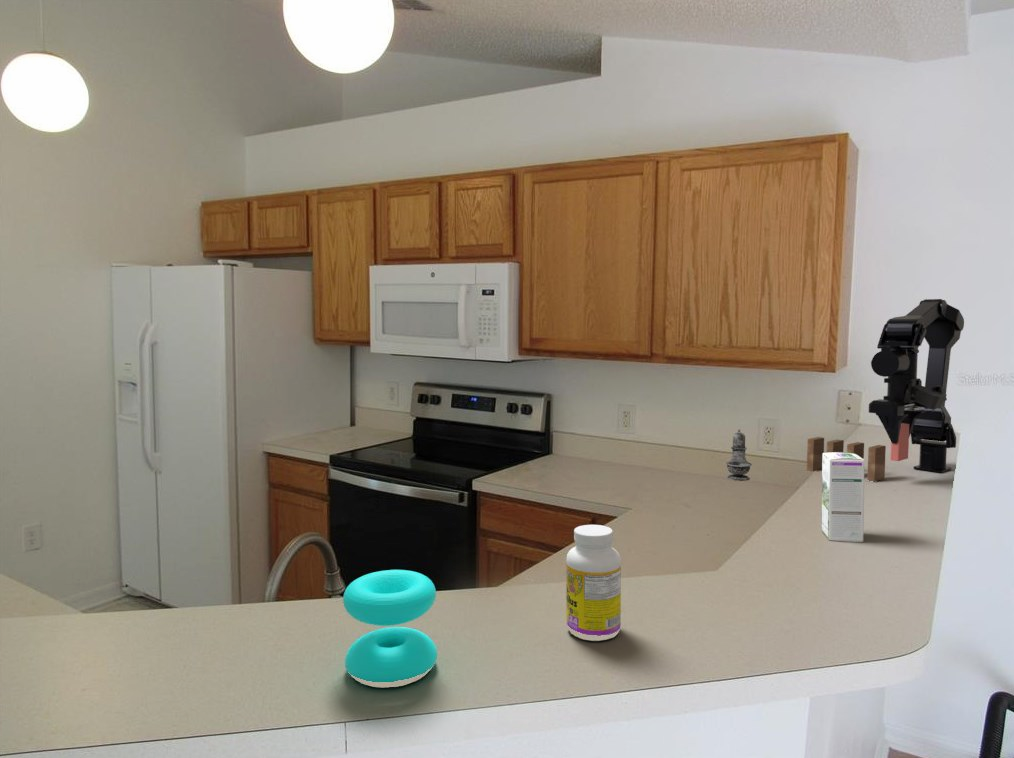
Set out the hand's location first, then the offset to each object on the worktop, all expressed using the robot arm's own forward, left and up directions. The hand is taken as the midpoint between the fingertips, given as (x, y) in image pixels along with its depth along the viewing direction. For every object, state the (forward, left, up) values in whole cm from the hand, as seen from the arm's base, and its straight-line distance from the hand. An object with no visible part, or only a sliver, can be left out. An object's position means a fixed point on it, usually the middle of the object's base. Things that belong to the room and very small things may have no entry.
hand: (899, 442), depth 159 cm
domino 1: (0, -20, -10) cm, 22 cm away
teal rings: (+132, +5, -10) cm, 133 cm away
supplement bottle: (+108, +12, -10) cm, 109 cm away
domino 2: (0, -15, -10) cm, 18 cm away
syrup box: (+48, +12, -10) cm, 50 cm away
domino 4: (0, -5, -10) cm, 11 cm away
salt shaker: (+23, -26, -10) cm, 37 cm away
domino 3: (0, -10, -10) cm, 14 cm away
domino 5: (0, 0, -4) cm, 4 cm away
